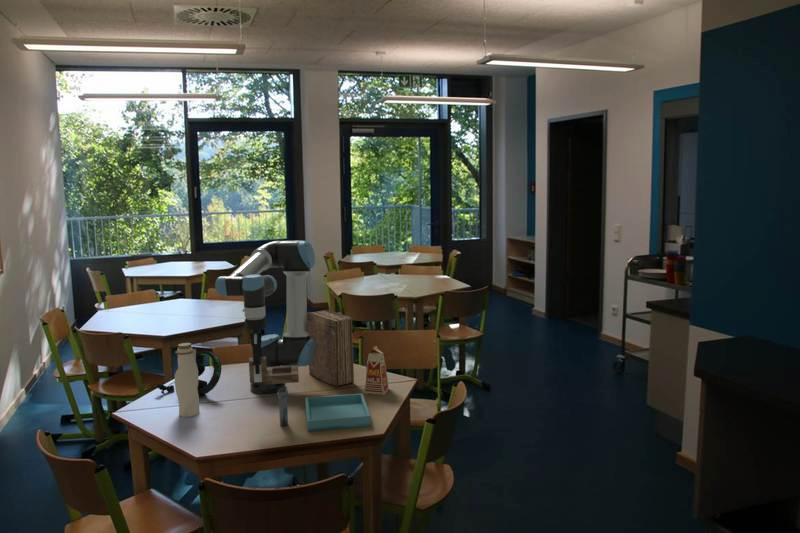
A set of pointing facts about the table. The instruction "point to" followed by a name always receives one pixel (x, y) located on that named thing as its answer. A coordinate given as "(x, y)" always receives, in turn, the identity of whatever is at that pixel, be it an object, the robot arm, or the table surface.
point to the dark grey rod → (283, 406)
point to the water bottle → (187, 381)
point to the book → (331, 347)
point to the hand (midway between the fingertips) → (258, 379)
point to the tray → (337, 412)
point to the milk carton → (376, 373)
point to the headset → (202, 385)
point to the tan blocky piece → (275, 373)
